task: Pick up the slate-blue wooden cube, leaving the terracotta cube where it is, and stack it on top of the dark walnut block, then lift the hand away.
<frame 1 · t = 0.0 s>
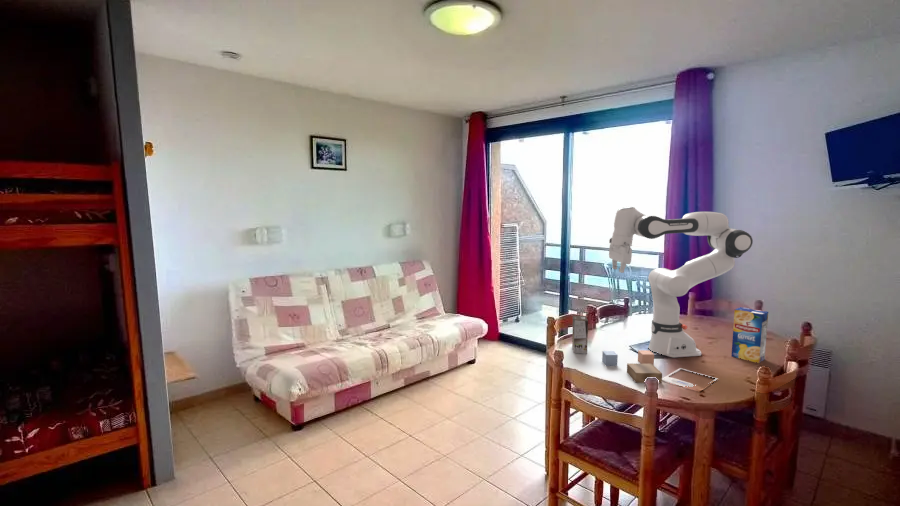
hand: (617, 270, 202), 39 cm above the table, tool pointing down, fingers open, 8 cm apart
coffee box: (579, 350, 207), on the table
terracotta cube: (645, 363, 190), on the table
beverage box: (747, 358, 194), on the table
blue cube: (609, 363, 190), on the table
photo frame: (689, 381, 172), on the table
walnut block: (643, 377, 175), on the table
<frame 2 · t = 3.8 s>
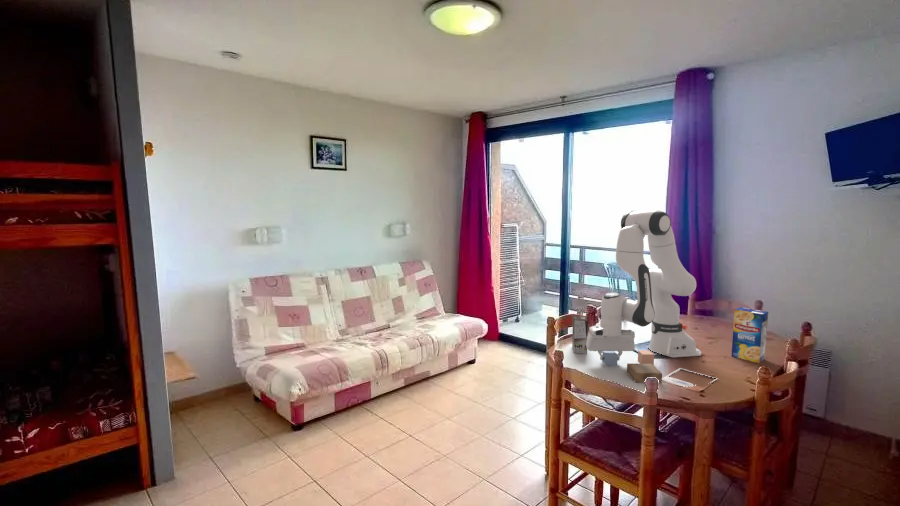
hand: (609, 360, 190), 2 cm above the table, tool pointing down, fingers closed on blue cube, 5 cm apart
blue cube: (609, 363, 190), on the table, touching gripper
everything else where it was.
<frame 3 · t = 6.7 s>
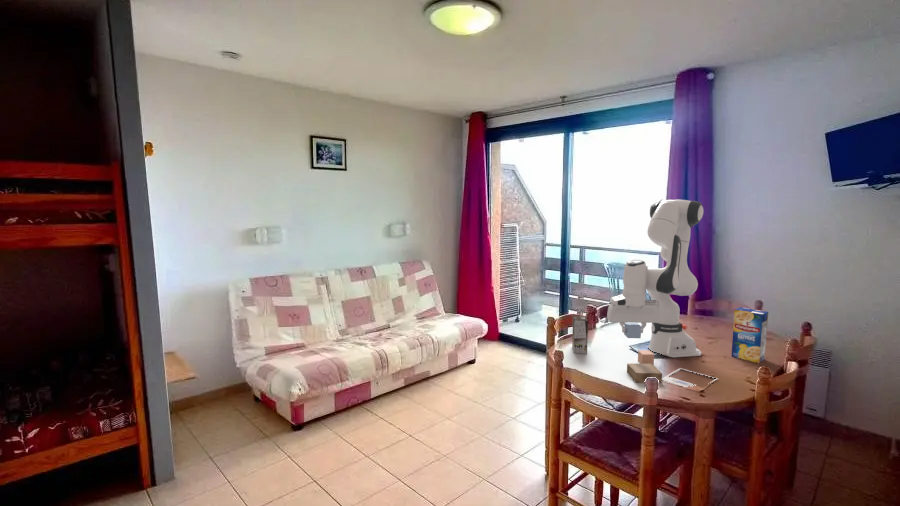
hand: (632, 332, 178), 17 cm above the table, tool pointing down, fingers closed on blue cube, 5 cm apart
blue cube: (632, 336, 178), point 16 cm above the table, touching gripper
everything else where it was.
when the fingers open (7 cm above the table, at t = 9.5 s): blue cube drops 1 cm, resting on walnut block.
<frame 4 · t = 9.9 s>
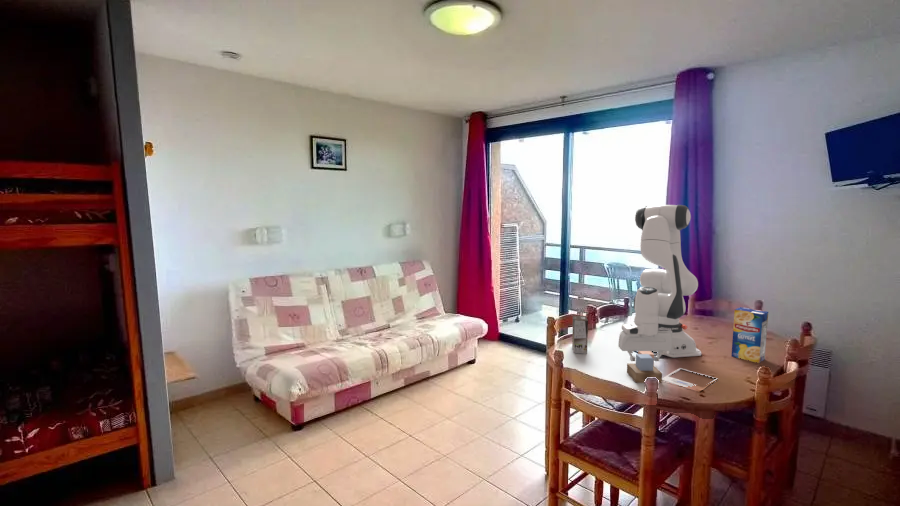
hand: (644, 360, 174), 7 cm above the table, tool pointing down, fingers open, 8 cm apart
blue cube: (644, 368, 174), point 4 cm above the table, touching walnut block
everything else where it was.
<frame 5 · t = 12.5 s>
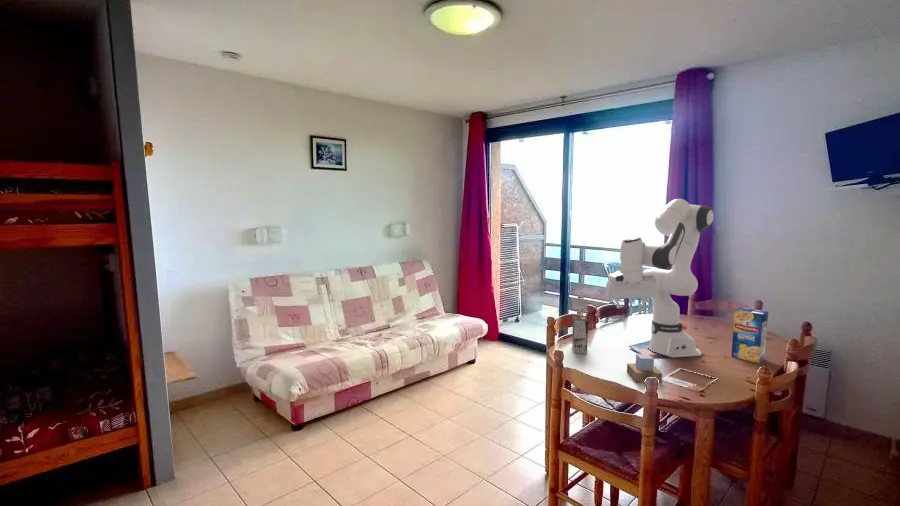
hand: (630, 307, 182), 26 cm above the table, tool pointing down, fingers open, 8 cm apart
nothing on the table moved.
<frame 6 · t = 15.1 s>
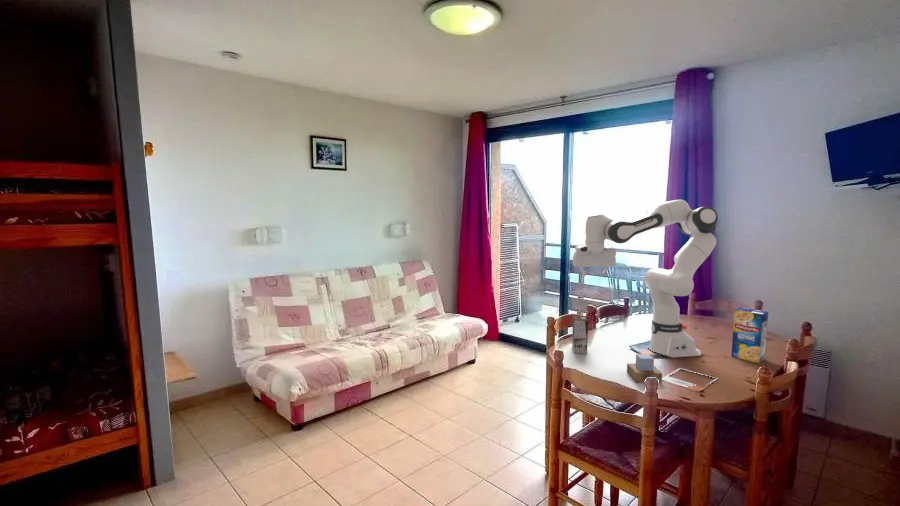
hand: (593, 275, 210), 35 cm above the table, tool pointing down, fingers open, 8 cm apart
nothing on the table moved.
at the end: blue cube 0.0 cm off-centre on the walnut block, point 4.0 cm above the walnut block's base; blue cube tilted 0°; the gripper is holding nothing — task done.
